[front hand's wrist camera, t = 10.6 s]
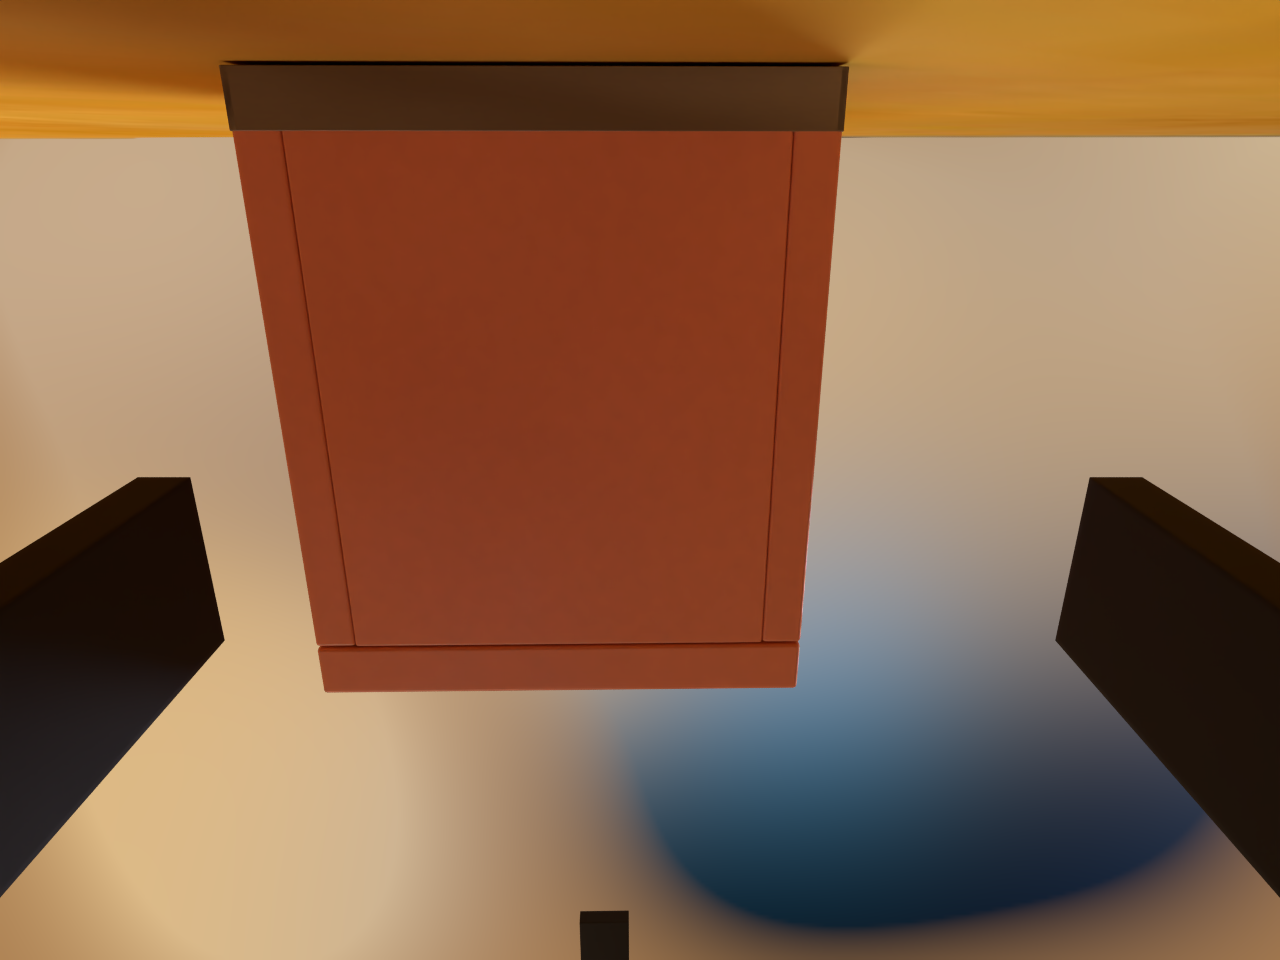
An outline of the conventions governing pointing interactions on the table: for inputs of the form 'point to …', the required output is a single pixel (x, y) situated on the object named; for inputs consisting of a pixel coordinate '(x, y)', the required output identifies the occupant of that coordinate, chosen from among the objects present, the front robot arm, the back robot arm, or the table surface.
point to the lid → (559, 666)
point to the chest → (545, 342)
